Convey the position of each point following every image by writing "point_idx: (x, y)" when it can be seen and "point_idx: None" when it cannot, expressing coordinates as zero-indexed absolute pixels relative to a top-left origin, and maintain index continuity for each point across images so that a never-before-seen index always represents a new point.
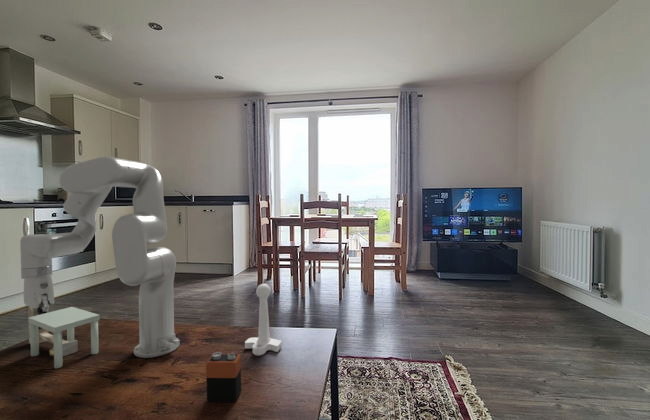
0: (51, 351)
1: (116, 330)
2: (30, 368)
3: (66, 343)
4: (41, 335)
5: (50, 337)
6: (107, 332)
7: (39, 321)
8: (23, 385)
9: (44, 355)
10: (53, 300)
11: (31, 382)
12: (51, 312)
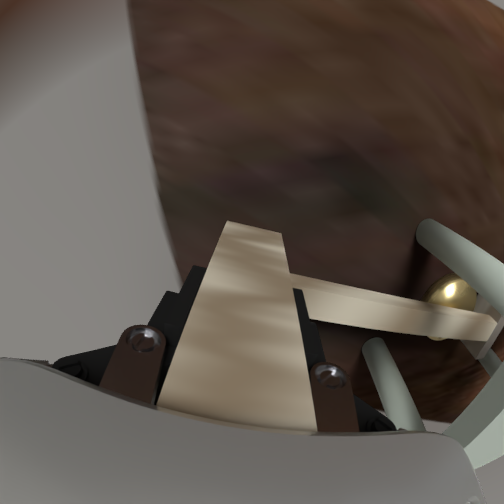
0: (440, 338)
1: (489, 76)
2: (428, 384)
3: (495, 334)
4: (323, 319)
5: (407, 327)
6: (478, 97)
7: (480, 465)
8: (457, 406)
9: (410, 337)
10: (475, 480)
11: (464, 397)
12: (484, 435)
